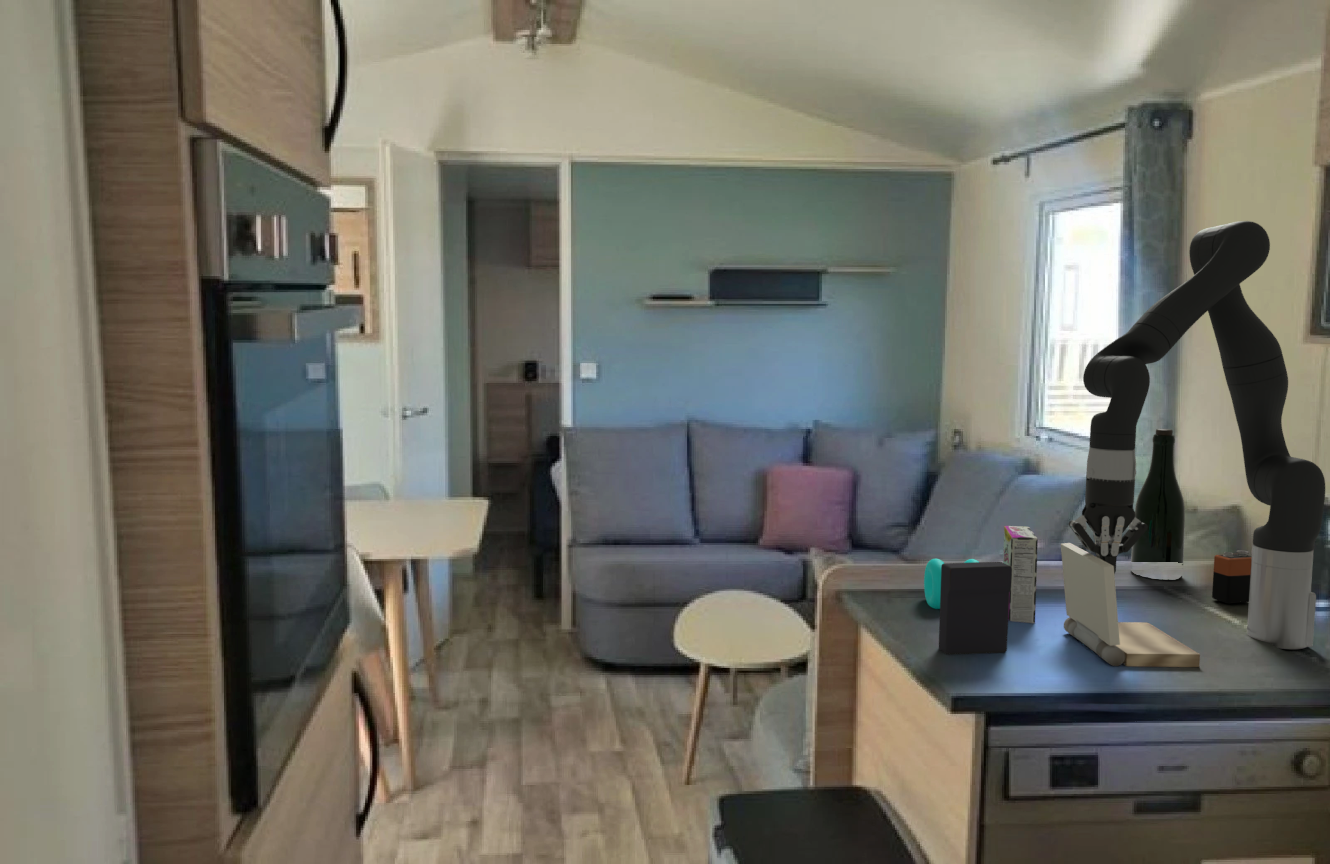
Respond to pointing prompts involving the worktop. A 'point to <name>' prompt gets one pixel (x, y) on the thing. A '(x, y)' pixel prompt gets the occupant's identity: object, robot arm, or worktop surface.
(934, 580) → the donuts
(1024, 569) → the candy bar box
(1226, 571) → the battery
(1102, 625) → the hinge leaf
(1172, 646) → the fixed leaf
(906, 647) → the worktop surface
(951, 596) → the calculator
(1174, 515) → the wine bottle
